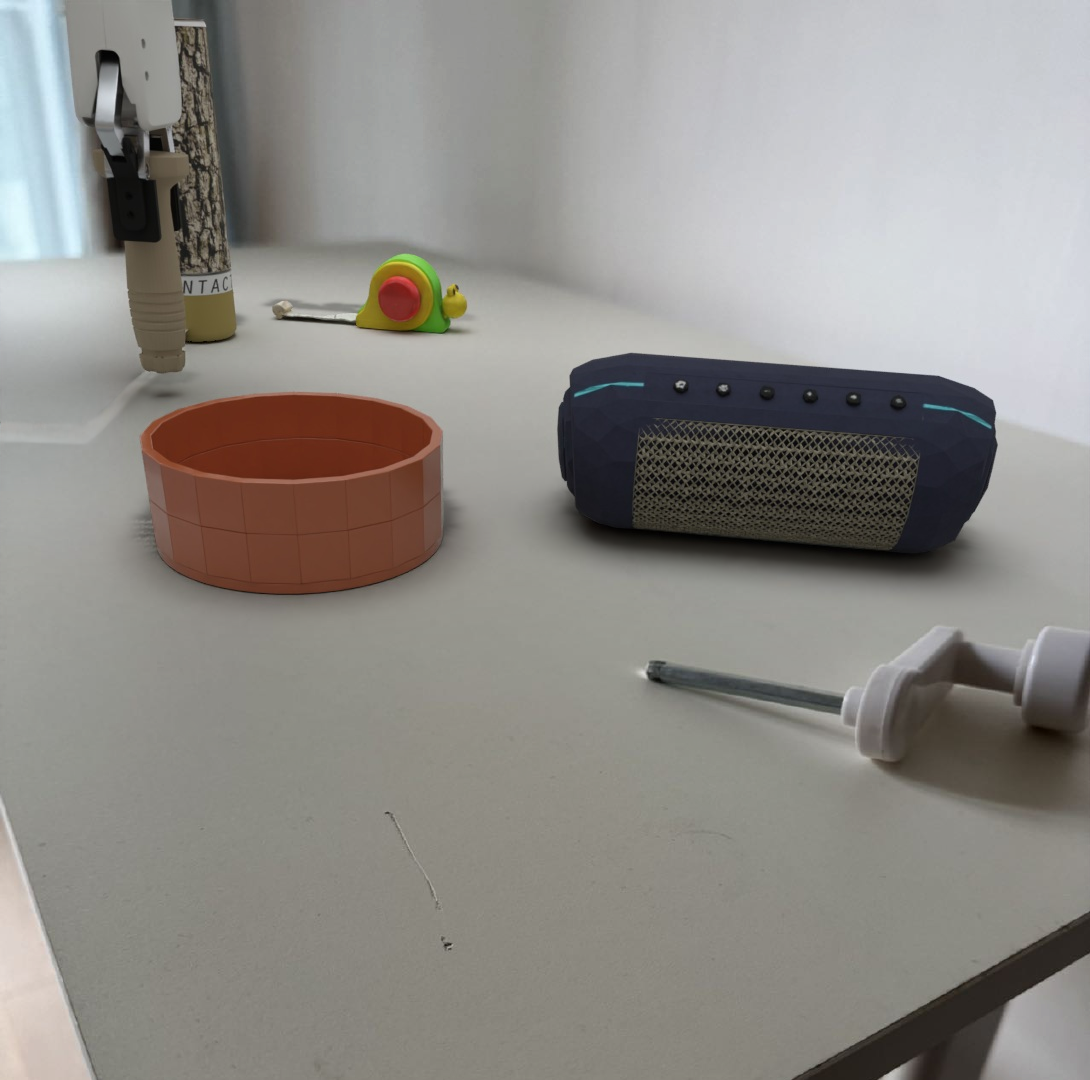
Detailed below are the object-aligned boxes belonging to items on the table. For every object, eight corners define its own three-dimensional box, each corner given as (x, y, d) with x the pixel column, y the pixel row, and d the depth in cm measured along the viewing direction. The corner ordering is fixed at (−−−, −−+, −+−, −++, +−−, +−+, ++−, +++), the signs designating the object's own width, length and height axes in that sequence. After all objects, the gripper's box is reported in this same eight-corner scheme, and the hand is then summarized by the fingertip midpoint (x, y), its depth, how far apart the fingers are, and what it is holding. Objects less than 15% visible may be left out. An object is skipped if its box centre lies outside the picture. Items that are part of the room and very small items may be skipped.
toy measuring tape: (458, 339, 107) (458, 265, 104) (264, 323, 110) (258, 251, 106) (474, 325, 112) (474, 254, 109) (288, 310, 115) (283, 240, 111)
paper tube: (149, 332, 105) (104, 14, 91) (216, 324, 109) (182, 18, 95) (183, 347, 100) (140, 16, 87) (251, 338, 104) (220, 20, 91)
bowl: (119, 590, 58) (99, 477, 55) (195, 482, 72) (183, 387, 69) (433, 598, 59) (432, 487, 55) (449, 489, 72) (449, 396, 69)
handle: (202, 379, 85) (182, 158, 78) (114, 376, 85) (85, 153, 77) (211, 363, 89) (192, 152, 82) (127, 360, 89) (100, 147, 81)
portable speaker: (541, 547, 65) (548, 371, 60) (562, 488, 73) (570, 330, 68) (987, 587, 63) (1035, 408, 57) (956, 522, 71) (995, 360, 66)
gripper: (99, -63, 80) (131, 216, 89) (6, -88, 65) (56, 249, 75) (206, -55, 80) (227, 222, 90) (137, -77, 66) (171, 257, 75)
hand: (149, 232), depth 82 cm, fingers closed on handle, 4 cm apart
